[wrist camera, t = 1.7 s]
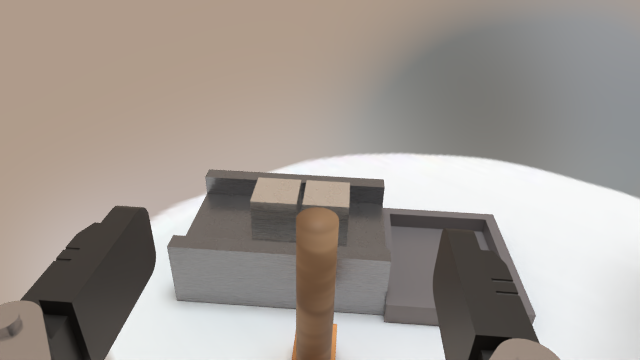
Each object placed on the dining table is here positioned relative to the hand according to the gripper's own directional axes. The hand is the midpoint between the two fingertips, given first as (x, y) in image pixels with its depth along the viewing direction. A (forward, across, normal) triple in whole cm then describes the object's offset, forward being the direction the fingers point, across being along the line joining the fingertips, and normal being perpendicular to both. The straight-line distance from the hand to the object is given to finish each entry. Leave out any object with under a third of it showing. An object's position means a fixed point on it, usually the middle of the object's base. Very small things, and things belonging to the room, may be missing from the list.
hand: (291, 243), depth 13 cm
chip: (+25, +4, +18) cm, 31 cm away
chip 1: (+25, 0, +18) cm, 31 cm away
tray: (+25, -12, +22) cm, 35 cm away
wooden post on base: (+11, 0, +22) cm, 25 cm away
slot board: (+25, +3, +22) cm, 33 cm away
